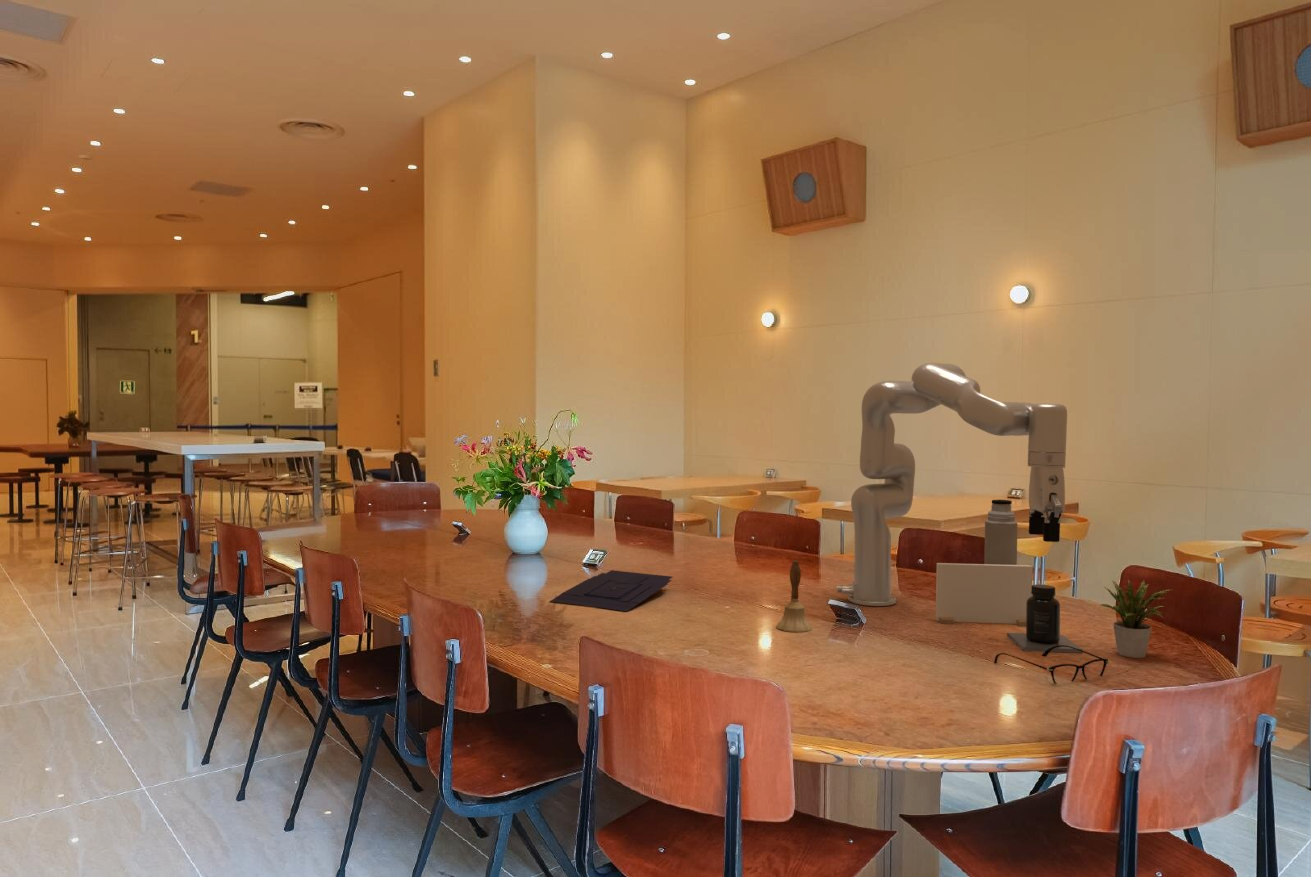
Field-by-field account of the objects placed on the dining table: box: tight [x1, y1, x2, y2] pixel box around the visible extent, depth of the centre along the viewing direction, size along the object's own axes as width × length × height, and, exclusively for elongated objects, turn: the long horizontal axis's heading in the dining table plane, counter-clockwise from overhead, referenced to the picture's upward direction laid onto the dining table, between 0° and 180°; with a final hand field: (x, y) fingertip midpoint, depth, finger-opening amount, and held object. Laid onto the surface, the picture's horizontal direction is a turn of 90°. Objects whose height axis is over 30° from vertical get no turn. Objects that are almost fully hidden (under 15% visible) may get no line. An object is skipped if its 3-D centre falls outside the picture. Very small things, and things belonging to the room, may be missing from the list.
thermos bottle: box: [983, 499, 1018, 565], centre depth 224 cm, size 8×8×28 cm
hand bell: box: [775, 560, 813, 633], centre depth 200 cm, size 8×8×16 cm
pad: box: [1006, 632, 1083, 654], centre depth 187 cm, size 12×12×1 cm
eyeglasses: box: [993, 645, 1109, 684], centre depth 169 cm, size 16×16×4 cm
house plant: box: [1099, 576, 1174, 659], centre depth 178 cm, size 14×14×16 cm
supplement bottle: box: [1025, 584, 1061, 644], centre depth 187 cm, size 7×7×12 cm
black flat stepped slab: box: [549, 569, 673, 612], centre depth 234 cm, size 24×30×4 cm
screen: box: [935, 562, 1033, 627], centre depth 207 cm, size 22×6×14 cm, turn 83°
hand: (1043, 537), depth 187 cm, fingers open, 9 cm apart
